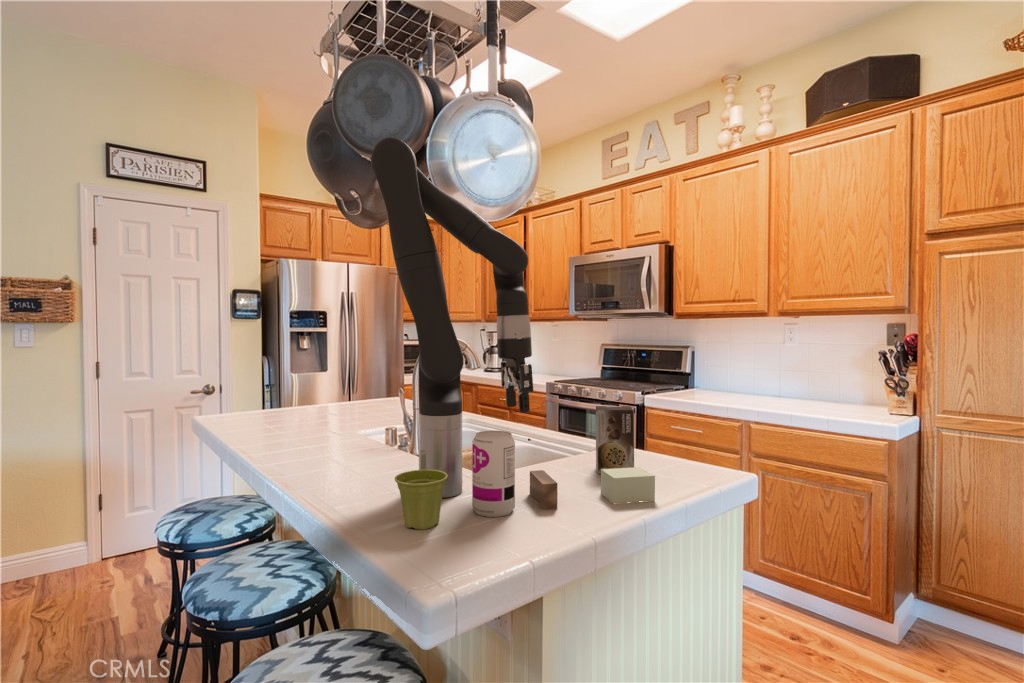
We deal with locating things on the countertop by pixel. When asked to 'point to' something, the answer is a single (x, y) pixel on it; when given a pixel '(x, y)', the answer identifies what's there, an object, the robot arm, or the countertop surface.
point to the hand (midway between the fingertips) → (517, 409)
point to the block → (627, 485)
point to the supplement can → (493, 473)
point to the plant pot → (421, 497)
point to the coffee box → (614, 437)
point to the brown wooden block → (543, 489)
